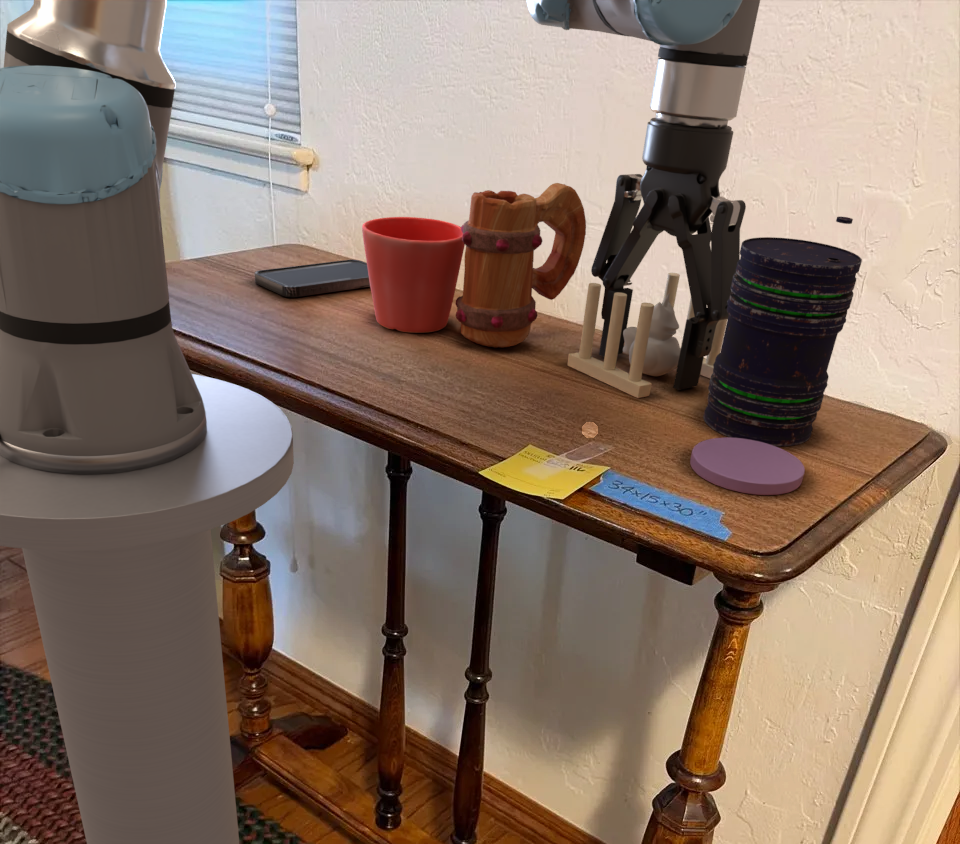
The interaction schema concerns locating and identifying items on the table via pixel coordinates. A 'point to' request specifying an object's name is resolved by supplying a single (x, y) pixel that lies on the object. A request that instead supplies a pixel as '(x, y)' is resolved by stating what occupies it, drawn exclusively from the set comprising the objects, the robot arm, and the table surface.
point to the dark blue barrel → (780, 338)
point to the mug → (515, 260)
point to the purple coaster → (747, 466)
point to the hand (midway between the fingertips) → (646, 369)
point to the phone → (315, 278)
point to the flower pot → (412, 271)
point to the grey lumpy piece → (657, 341)
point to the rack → (608, 369)
